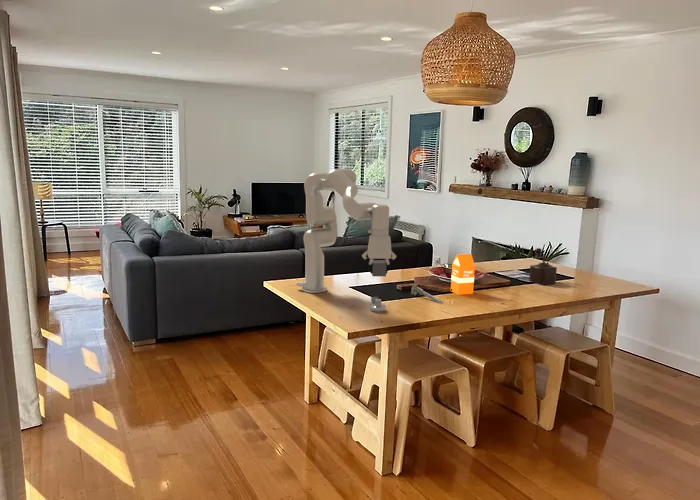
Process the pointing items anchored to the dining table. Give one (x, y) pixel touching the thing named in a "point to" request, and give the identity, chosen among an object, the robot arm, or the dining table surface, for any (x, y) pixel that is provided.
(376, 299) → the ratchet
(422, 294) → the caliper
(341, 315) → the dining table surface
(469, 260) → the orange juice
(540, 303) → the dining table surface
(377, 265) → the grey stone cube
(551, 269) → the brown coffee grinder
